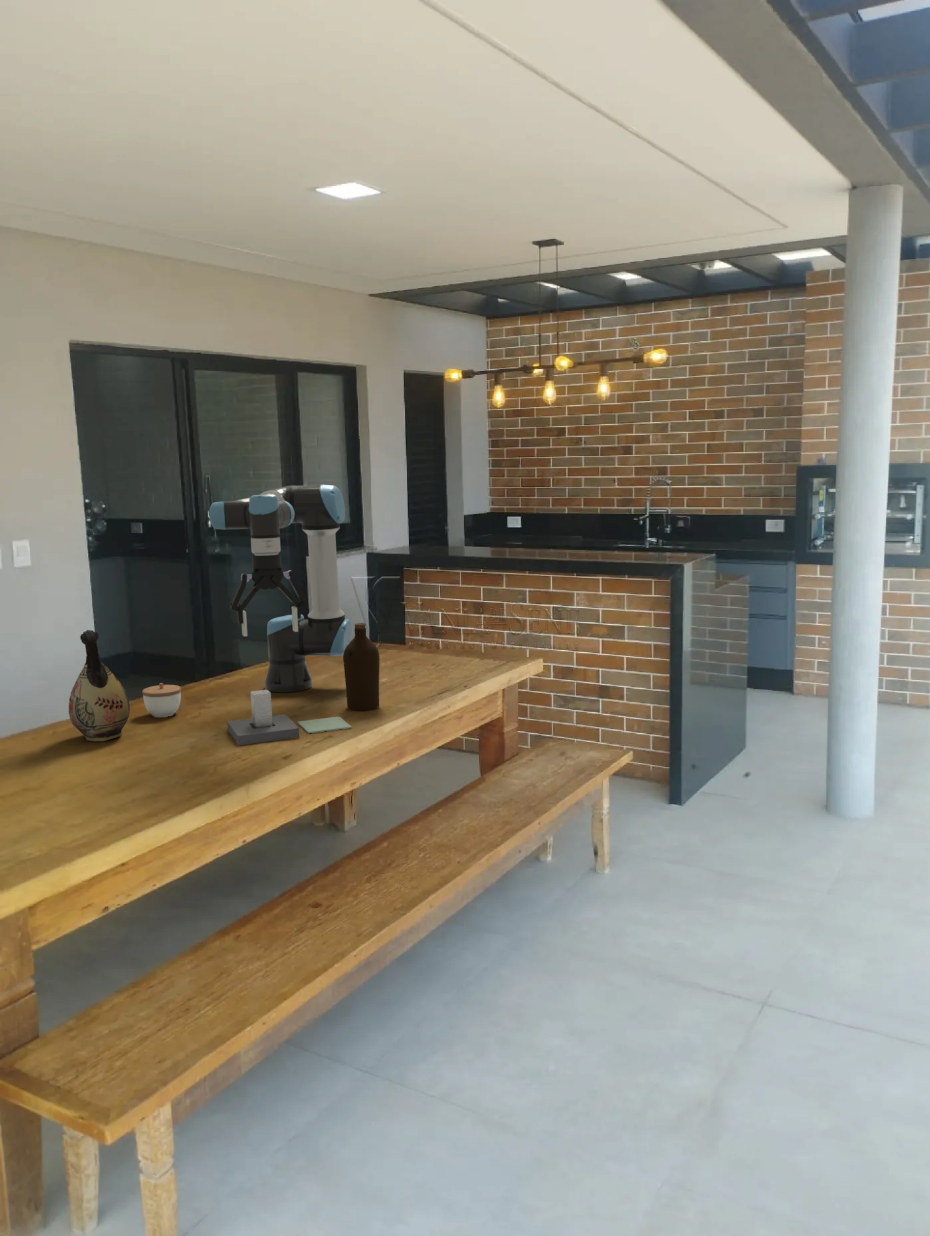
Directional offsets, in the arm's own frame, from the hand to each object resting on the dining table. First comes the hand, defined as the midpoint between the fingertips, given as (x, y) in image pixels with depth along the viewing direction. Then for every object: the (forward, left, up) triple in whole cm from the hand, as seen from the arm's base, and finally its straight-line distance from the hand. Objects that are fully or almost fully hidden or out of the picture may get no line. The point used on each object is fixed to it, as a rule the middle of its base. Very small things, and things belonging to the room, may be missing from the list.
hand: (270, 633), depth 267 cm
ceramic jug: (-16, -43, -27) cm, 54 cm away
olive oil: (-15, +30, -27) cm, 43 cm away
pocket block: (0, -3, -27) cm, 27 cm away
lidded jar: (-34, -25, -27) cm, 51 cm away
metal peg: (0, -3, -27) cm, 27 cm away
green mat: (0, +14, -27) cm, 30 cm away
